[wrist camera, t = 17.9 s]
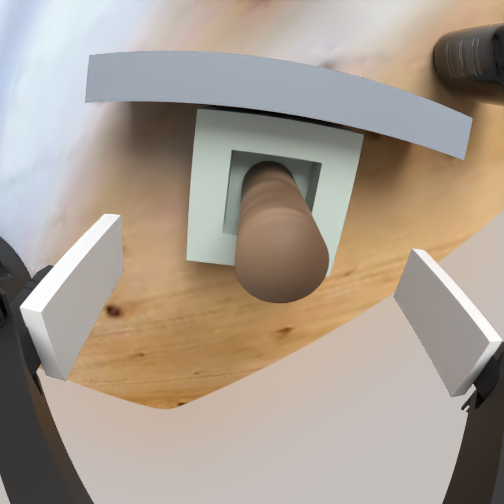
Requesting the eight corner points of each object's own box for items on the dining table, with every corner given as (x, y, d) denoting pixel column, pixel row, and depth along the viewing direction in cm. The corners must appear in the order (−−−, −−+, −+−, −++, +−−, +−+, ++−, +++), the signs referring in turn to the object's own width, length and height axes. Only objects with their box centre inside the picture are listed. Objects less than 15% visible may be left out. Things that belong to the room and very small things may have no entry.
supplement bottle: (469, 114, 22) (562, 140, 11) (420, 68, 21) (514, 66, 10) (493, 65, 19) (582, 73, 9) (447, 18, 18) (536, 0, 7)
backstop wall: (131, 98, 22) (85, 102, 15) (134, 64, 21) (89, 55, 14) (412, 140, 24) (463, 160, 17) (418, 108, 22) (472, 118, 15)
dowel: (239, 207, 25) (230, 298, 14) (245, 157, 23) (240, 214, 12) (289, 213, 25) (316, 306, 14) (298, 165, 23) (339, 227, 12)
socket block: (196, 232, 28) (186, 260, 23) (207, 106, 23) (197, 108, 18) (317, 247, 29) (329, 276, 24) (343, 127, 23) (364, 134, 19)
